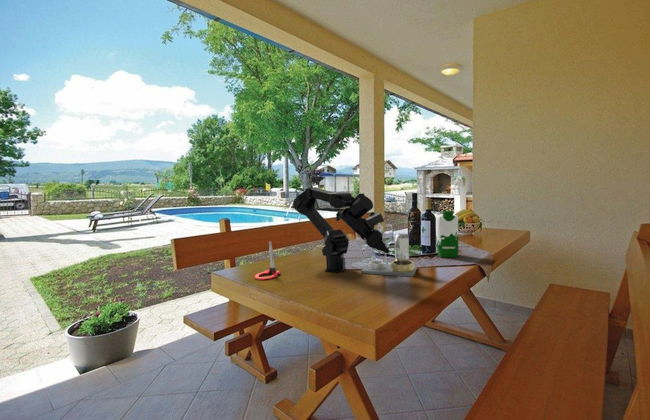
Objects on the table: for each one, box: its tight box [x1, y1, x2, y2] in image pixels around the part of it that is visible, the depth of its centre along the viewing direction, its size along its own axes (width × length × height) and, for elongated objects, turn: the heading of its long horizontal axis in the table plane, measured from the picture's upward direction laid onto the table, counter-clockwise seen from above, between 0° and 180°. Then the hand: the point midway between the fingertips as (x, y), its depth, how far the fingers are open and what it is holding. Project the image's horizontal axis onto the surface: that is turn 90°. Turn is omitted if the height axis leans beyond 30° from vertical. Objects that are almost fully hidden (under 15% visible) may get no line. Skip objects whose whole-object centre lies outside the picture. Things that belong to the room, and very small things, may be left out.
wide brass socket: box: [390, 260, 415, 272], centre depth 121 cm, size 8×8×2 cm
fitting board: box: [360, 263, 418, 277], centre depth 123 cm, size 19×11×1 cm, turn 67°
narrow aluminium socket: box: [367, 260, 385, 270], centre depth 125 cm, size 6×6×2 cm
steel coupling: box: [394, 233, 410, 265], centre depth 121 cm, size 5×5×13 cm
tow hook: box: [254, 241, 282, 281], centre depth 122 cm, size 8×13×9 cm
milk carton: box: [435, 210, 459, 258], centre depth 143 cm, size 9×9×20 cm
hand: (385, 249), depth 121 cm, fingers open, 9 cm apart
